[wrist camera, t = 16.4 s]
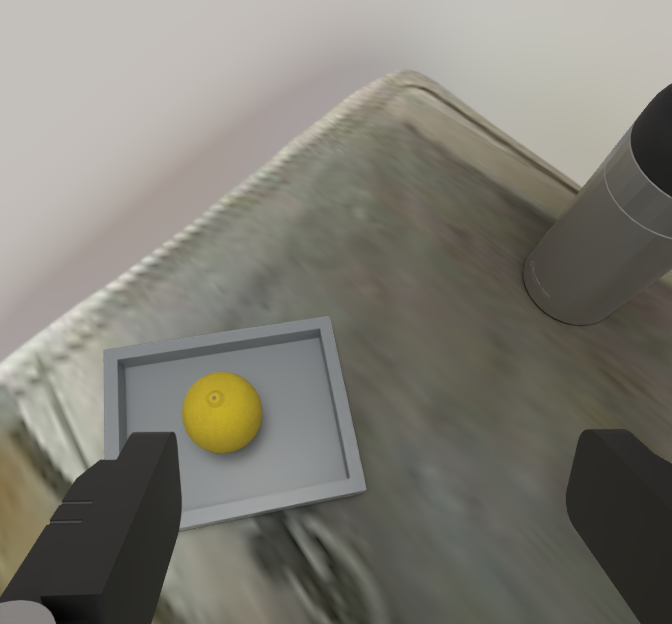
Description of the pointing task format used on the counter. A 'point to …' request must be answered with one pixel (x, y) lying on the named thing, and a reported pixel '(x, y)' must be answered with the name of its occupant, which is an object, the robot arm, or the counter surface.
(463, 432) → the counter surface
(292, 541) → the counter surface
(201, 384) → the lemon
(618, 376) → the counter surface
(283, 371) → the tray
